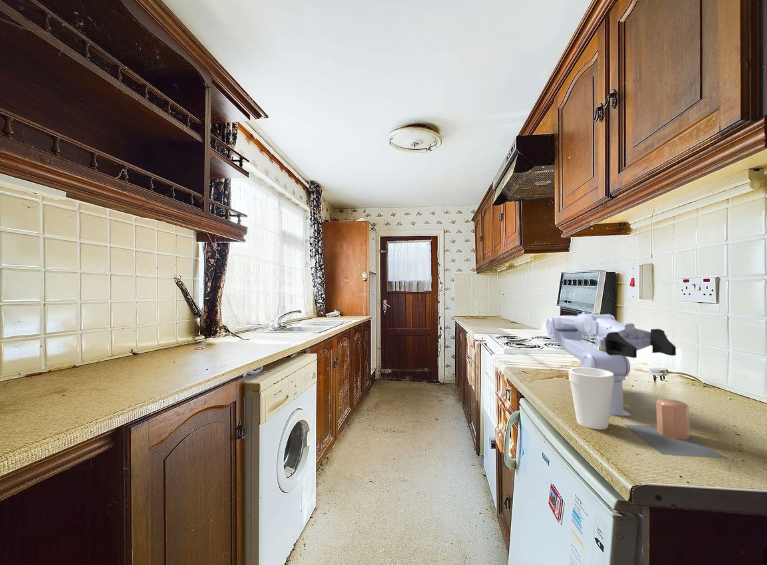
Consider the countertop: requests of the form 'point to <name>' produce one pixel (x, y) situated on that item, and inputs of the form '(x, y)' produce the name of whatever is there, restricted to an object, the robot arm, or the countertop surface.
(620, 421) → the countertop surface
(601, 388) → the foam cup
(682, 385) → the countertop surface
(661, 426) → the salmon pink faceted cylinder
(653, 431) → the mat
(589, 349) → the robot arm
